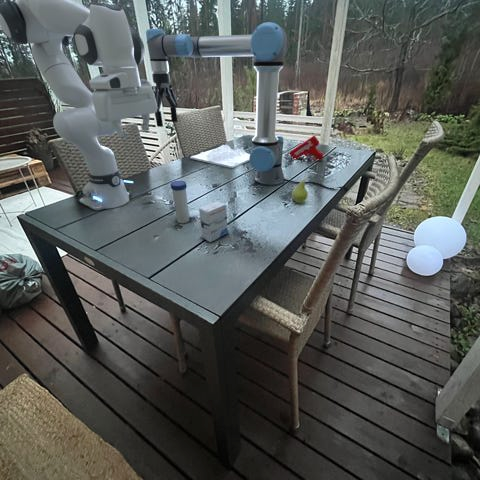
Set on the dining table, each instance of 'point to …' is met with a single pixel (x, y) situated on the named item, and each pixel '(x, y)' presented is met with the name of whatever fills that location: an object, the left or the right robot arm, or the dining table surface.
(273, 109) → the right robot arm
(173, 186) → the lid
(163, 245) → the dining table surface
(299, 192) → the fruit
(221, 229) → the ink box
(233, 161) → the relief map
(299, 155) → the toy gun
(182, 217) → the jar
